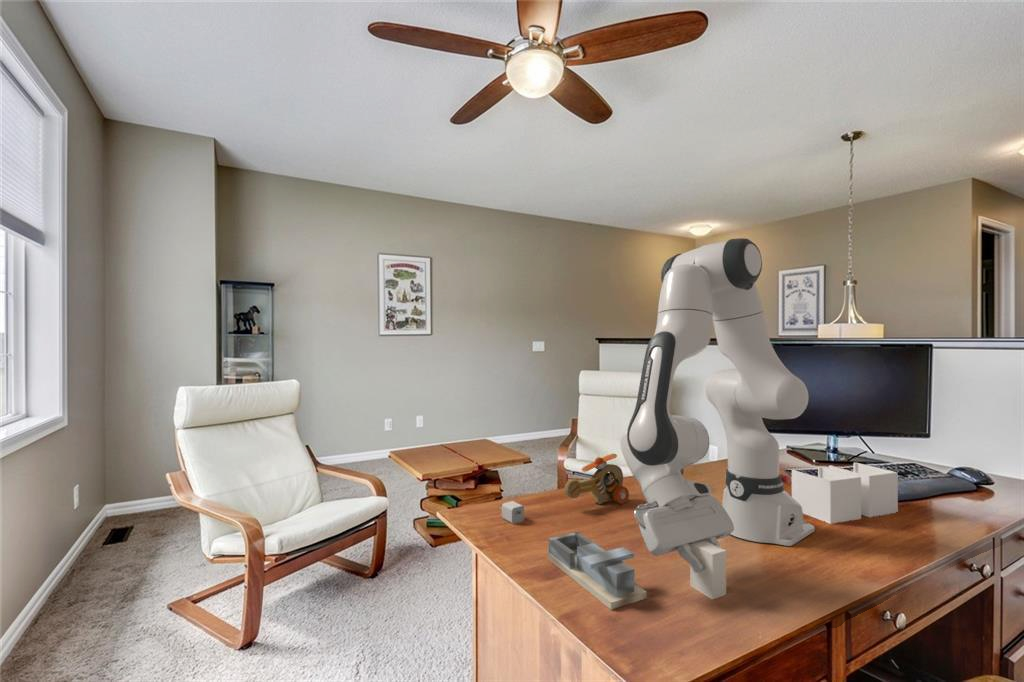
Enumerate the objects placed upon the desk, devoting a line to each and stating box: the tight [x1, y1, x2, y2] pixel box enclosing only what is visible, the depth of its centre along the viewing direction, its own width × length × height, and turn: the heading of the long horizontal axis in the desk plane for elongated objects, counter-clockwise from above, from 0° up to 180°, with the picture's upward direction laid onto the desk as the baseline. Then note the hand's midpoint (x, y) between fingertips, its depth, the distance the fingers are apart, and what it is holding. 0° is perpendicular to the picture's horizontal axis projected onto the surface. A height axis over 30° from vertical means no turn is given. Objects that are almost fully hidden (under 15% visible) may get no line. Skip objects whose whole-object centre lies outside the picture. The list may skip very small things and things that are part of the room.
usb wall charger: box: [498, 500, 525, 525], centre depth 120 cm, size 4×7×4 cm, turn 36°
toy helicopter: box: [563, 453, 630, 505], centre depth 130 cm, size 8×21×14 cm, turn 122°
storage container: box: [791, 462, 899, 525], centre depth 126 cm, size 25×11×11 cm, turn 109°
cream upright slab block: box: [689, 540, 727, 600], centre depth 85 cm, size 4×5×8 cm
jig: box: [546, 531, 648, 611], centre depth 90 cm, size 10×21×6 cm, turn 27°
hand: (710, 567), depth 85 cm, fingers closed on cream upright slab block, 3 cm apart
